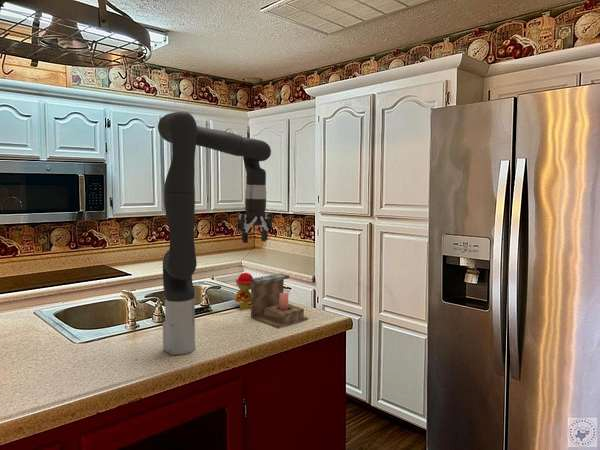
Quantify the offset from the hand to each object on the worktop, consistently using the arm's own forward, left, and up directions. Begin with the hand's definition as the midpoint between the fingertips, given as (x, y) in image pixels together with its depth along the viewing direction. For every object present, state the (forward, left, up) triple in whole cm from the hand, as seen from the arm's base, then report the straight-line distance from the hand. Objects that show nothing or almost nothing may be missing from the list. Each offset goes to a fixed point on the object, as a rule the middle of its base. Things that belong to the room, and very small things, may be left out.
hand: (254, 242), depth 161 cm
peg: (+15, 0, -32) cm, 35 cm away
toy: (+14, +24, -33) cm, 43 cm away
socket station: (+15, +3, -33) cm, 36 cm away
